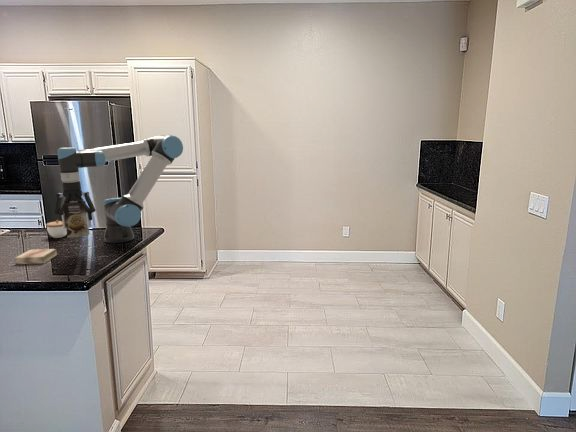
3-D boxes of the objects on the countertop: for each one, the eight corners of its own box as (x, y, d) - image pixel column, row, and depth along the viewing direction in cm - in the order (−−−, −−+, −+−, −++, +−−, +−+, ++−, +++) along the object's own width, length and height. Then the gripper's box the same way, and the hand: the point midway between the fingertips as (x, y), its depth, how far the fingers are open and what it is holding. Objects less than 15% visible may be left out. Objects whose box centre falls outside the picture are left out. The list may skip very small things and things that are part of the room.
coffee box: (67, 238, 180) (62, 204, 176) (68, 234, 185) (63, 201, 182) (89, 235, 183) (84, 202, 180) (89, 232, 189) (85, 200, 185)
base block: (57, 254, 184) (56, 248, 183) (44, 263, 172) (43, 256, 172) (30, 255, 183) (29, 249, 182) (15, 264, 171) (14, 257, 171)
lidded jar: (51, 234, 220) (49, 218, 218) (72, 233, 223) (70, 217, 221) (45, 239, 210) (42, 222, 208) (67, 238, 213) (64, 221, 211)
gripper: (40, 183, 174) (48, 230, 179) (93, 181, 176) (99, 228, 181) (49, 180, 181) (56, 226, 186) (99, 179, 183) (105, 224, 188)
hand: (77, 227), depth 183 cm, fingers closed on coffee box, 10 cm apart
